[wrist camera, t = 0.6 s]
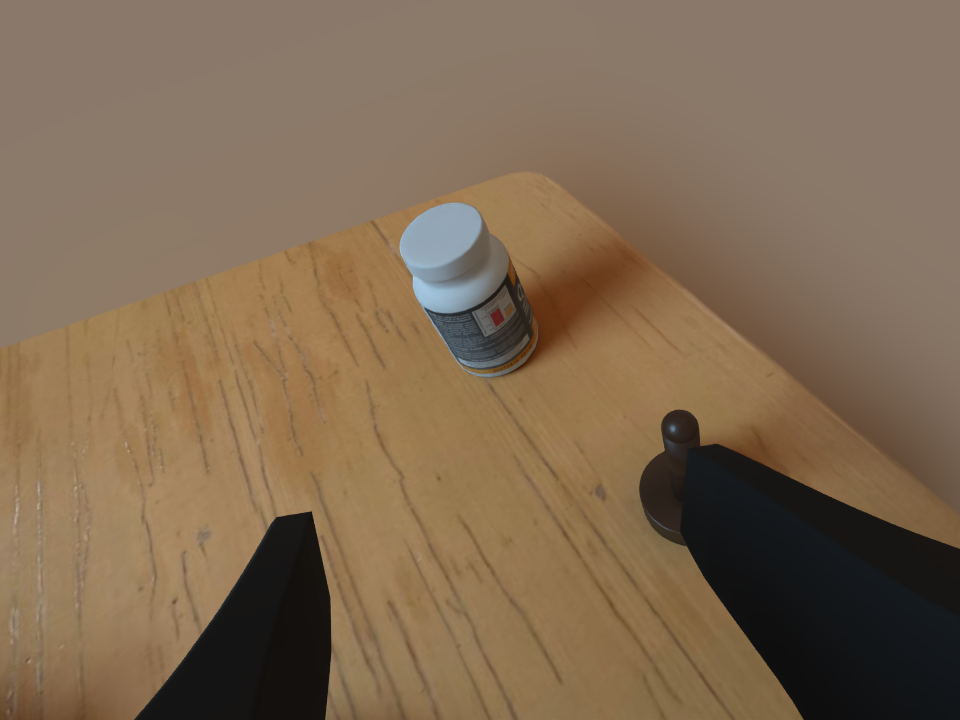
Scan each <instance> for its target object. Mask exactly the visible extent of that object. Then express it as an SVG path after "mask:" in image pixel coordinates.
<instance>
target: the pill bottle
mask: <svg viewBox="0 0 960 720" xmlns="http://www.w3.org/2000/svg"><path fill="white" fill-rule="evenodd" d="M400 252H401V255H402V258H403V260H404V261H405V263H406V265H407V267H408V269H409V270H410V272H411V273H412V274H413V288H414V292H415V295H416V298H417V300H418V301H419V303H420V305H421V306H422V308H423V309H424V311H425V312H426V314H427V316H428V317H429V319H430V320H431V322H432V324H433V325H434V326H435V328H436V330H437V331H438V333H439V334H440V336H441V337H442V339H443V340H444V342H445V343H446V345H447V347H448V349H449V350H450V352H451V354H452V355H453V357H454V358H455V359H456V361H457V362H458V363H459V365H460V366H461V367H462V368H463V369H464V370H466V371H467V372H469V373H471V374H474V375H477V376H481V377H496V376H500V375H504V374H507V373H509V372H511V371H513V370H514V369H516V368H518V367H519V366H521V365H522V364H523V363H525V361H526V360H527V359H528V358H529V356H530V355H531V354H532V352H533V350H534V349H535V347H536V344H537V340H538V325H537V322H536V319H535V316H534V314H533V311H532V309H531V307H530V304H529V302H528V299H527V297H526V295H525V293H524V290H523V288H522V285H521V283H520V281H519V278H518V276H517V274H516V271H515V268H514V266H513V264H512V261H511V259H510V256H509V254H508V252H507V250H506V248H505V246H504V245H503V243H502V242H501V241H500V240H499V239H498V238H496V237H495V236H493V235H492V234H490V233H489V231H488V228H487V226H486V223H485V221H484V219H483V217H482V215H481V214H480V212H479V211H478V210H477V209H476V208H475V207H473V206H471V205H468V204H465V203H447V204H442V205H439V206H436V207H434V208H431V209H429V210H427V211H426V212H424V213H422V214H421V215H419V216H418V217H417V218H416V219H415V220H413V221H412V223H411V224H410V225H409V226H408V227H407V228H406V230H405V232H404V233H403V235H402V238H401V241H400Z"/></svg>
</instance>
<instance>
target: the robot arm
mask: <svg viewBox="0 0 960 720" xmlns="http://www.w3.org/2000/svg"><path fill="white" fill-rule="evenodd" d="M680 533H681V535H682V537H683V539H684V541H685V543H686V545H687V547H688V549H689V551H690V553H691V555H692V556H693V558H694V560H695V562H696V564H697V565H698V567H699V569H700V571H701V572H702V574H703V576H704V578H705V579H706V581H707V582H708V583H709V585H710V586H711V588H712V589H713V591H714V592H715V593H716V595H717V596H718V598H719V599H720V600H721V602H722V603H723V605H724V606H725V607H726V609H727V610H728V612H729V613H730V614H731V616H732V617H733V618H734V620H735V621H736V623H737V624H738V625H739V627H740V628H741V629H742V631H743V632H744V634H745V635H746V636H747V638H748V639H749V640H750V642H751V643H752V644H753V646H754V647H755V649H756V650H757V651H758V653H759V654H760V655H761V657H762V658H763V660H764V661H765V662H766V664H767V665H768V666H769V668H770V669H771V671H772V672H773V673H774V675H775V676H776V677H777V679H778V680H779V682H780V683H781V685H782V686H783V688H784V689H785V691H786V692H787V694H788V695H789V697H790V698H791V700H792V701H793V703H794V704H795V706H796V708H797V709H798V711H799V713H800V714H801V716H802V718H803V719H804V720H960V549H959V548H956V547H953V546H950V545H947V544H945V543H942V542H939V541H936V540H934V539H931V538H928V537H925V536H922V535H920V534H917V533H914V532H912V531H909V530H907V529H904V528H901V527H899V526H896V525H894V524H891V523H889V522H887V521H884V520H882V519H880V518H877V517H875V516H872V515H870V514H868V513H865V512H863V511H861V510H858V509H856V508H854V507H851V506H849V505H847V504H845V503H843V502H840V501H838V500H836V499H834V498H832V497H829V496H827V495H825V494H823V493H821V492H819V491H817V490H815V489H812V488H810V487H808V486H806V485H804V484H802V483H800V482H798V481H796V480H794V479H792V478H790V477H787V476H785V475H783V474H781V473H779V472H777V471H775V470H773V469H771V468H769V467H767V466H765V465H763V464H761V463H759V462H757V461H755V460H752V459H750V458H748V457H746V456H744V455H742V454H740V453H738V452H735V451H733V450H731V449H729V448H726V447H724V446H721V445H719V444H712V445H706V446H700V447H694V448H688V453H687V463H686V473H685V483H684V493H683V503H682V513H681V523H680ZM330 662H331V605H330V594H329V589H328V584H327V580H326V575H325V571H324V566H323V561H322V557H321V552H320V547H319V543H318V538H317V533H316V529H315V524H314V519H313V515H312V511H311V512H305V513H299V514H293V515H287V516H281V517H276V519H275V520H274V521H273V522H272V523H271V525H270V527H269V529H268V530H267V532H266V534H265V536H264V537H263V539H262V541H261V543H260V544H259V546H258V548H257V550H256V551H255V553H254V555H253V557H252V558H251V560H250V562H249V563H248V565H247V566H246V568H245V570H244V571H243V573H242V575H241V576H240V578H239V579H238V581H237V583H236V584H235V586H234V587H233V589H232V590H231V592H230V593H229V595H228V596H227V598H226V600H225V601H224V603H223V604H222V606H221V607H220V609H219V610H218V612H217V613H216V615H215V616H214V618H213V619H212V621H211V622H210V623H209V625H208V626H207V627H206V629H205V630H204V632H203V633H202V634H201V636H200V637H199V639H198V640H197V641H196V643H195V644H194V645H193V647H192V648H191V650H190V651H189V652H188V654H187V655H186V657H185V658H184V659H183V661H182V662H181V663H180V664H179V666H178V667H177V668H176V670H175V671H174V672H173V673H172V675H171V676H170V677H169V679H168V680H167V681H166V682H165V684H164V685H163V686H162V687H161V688H160V690H159V691H158V692H157V693H156V695H155V696H154V697H153V698H152V699H151V700H150V702H149V703H148V704H147V705H146V706H145V708H144V709H143V710H142V711H141V712H140V714H139V715H138V716H137V717H136V718H135V719H134V720H325V716H326V706H327V695H328V684H329V674H330Z"/></svg>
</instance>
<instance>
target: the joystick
mask: <svg viewBox="0 0 960 720" xmlns="http://www.w3.org/2000/svg"><path fill="white" fill-rule="evenodd" d="M661 431H662V436H663V442H664V448H665V451H664V452H662V453H661V454H659V455H657V456H656V457H655V458H653V459H652V460H651V461H650V462H649V464H648V465H647V466H646V468H645V470H644V471H643V474H642V476H641V480H640V486H639V491H640V498H641V502H642V506H643V509H644V512H645V515H646V517H647V519H648V521H649V523H650V524H651V526H652V527H653V528H654V529H655V530H656V531H657V532H658V533H659V534H660V535H661V536H663V537H664V538H666V539H668V540H670V541H672V542H674V543H677V544H681V545H685V546H687V545H686V543H685V541H684V539H683V537H682V535H681V533H680V523H681V513H682V503H683V493H684V483H685V473H686V463H687V453H688V448H694V447H700V435H699V425H698V421H697V419H696V418H695V417H694V416H693V415H692V414H691V413H690V412H688V411H685V410H674V411H671V412H669V413H668V414H667V415H666V416H665V417H664V419H663V421H662V424H661Z"/></svg>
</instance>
